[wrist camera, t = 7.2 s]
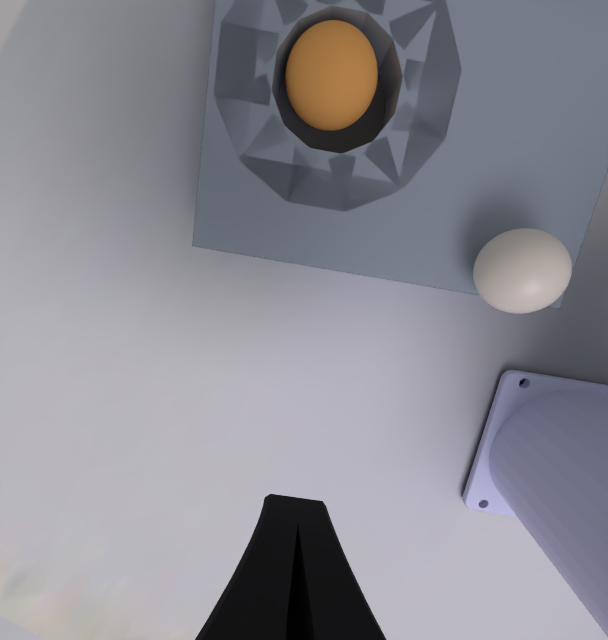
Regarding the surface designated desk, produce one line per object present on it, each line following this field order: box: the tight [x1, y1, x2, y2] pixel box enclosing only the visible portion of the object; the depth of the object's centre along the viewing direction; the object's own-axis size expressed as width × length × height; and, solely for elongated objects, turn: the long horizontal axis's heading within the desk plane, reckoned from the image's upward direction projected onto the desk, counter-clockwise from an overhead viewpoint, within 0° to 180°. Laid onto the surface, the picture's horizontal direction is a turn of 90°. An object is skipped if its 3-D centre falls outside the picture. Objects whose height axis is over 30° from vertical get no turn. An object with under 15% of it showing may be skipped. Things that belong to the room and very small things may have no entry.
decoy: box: [473, 228, 572, 314], centre depth 13 cm, size 3×3×3 cm
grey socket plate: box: [192, 0, 608, 309], centre depth 14 cm, size 15×13×2 cm
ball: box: [286, 20, 378, 131], centre depth 13 cm, size 3×3×3 cm
